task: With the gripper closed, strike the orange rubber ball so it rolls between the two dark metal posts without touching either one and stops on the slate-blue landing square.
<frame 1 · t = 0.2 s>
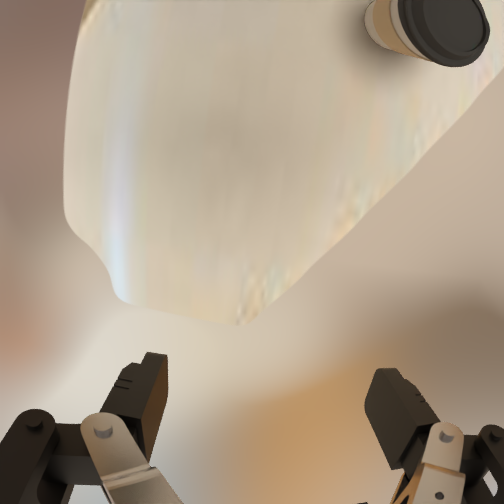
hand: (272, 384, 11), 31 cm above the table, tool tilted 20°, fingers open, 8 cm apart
coffee cup: (390, 23, 28), on the table
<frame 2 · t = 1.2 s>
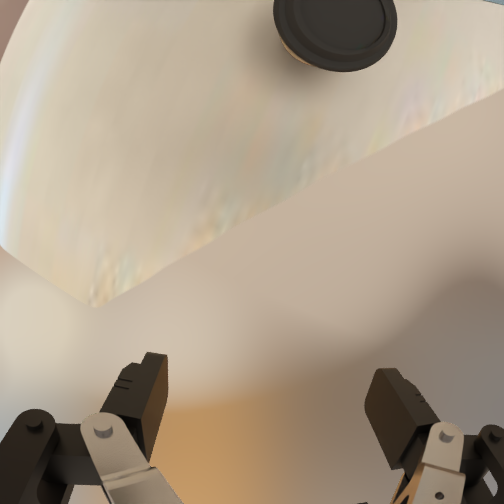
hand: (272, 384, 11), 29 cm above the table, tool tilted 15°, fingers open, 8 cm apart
coffee cup: (313, 35, 28), on the table
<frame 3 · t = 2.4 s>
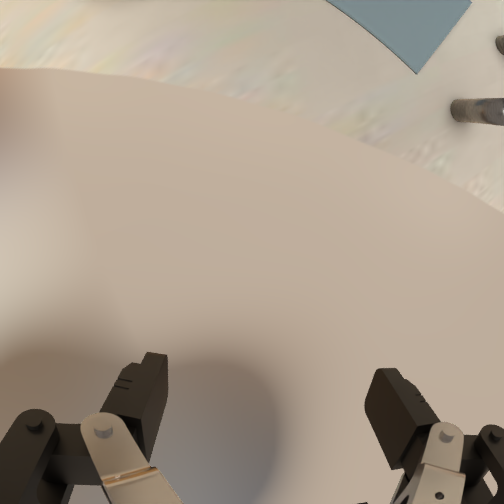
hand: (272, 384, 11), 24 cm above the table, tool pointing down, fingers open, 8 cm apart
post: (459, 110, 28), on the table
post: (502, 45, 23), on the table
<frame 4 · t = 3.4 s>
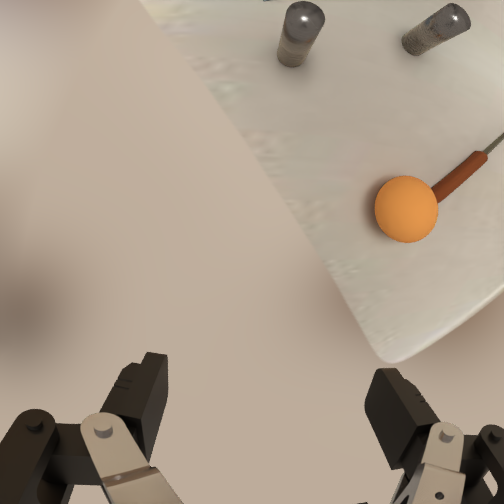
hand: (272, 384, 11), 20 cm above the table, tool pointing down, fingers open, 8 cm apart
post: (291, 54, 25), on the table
kitchen knife: (470, 159, 28), on the table
ball: (406, 209, 26), on the table
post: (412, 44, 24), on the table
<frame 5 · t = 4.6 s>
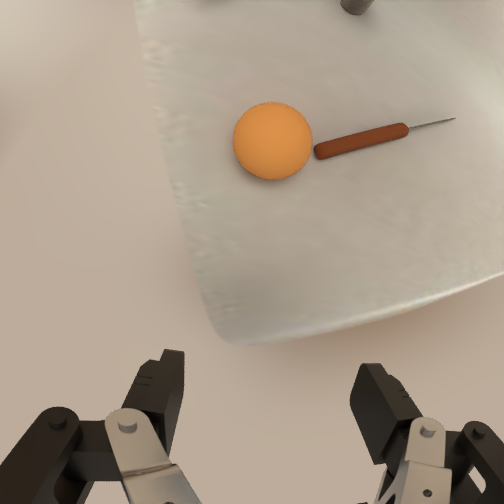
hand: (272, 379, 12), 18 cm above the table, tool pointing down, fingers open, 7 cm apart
kitchen knife: (389, 132, 27), on the table
ball: (272, 140, 24), on the table
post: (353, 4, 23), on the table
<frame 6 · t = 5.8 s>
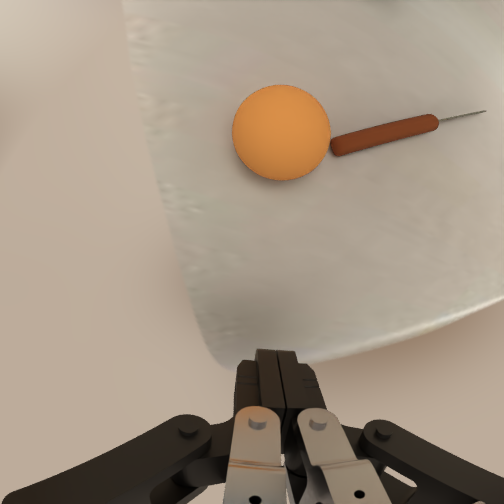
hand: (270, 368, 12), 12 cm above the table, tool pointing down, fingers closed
kitchen knife: (414, 125, 22), on the table
ball: (281, 132, 19), on the table
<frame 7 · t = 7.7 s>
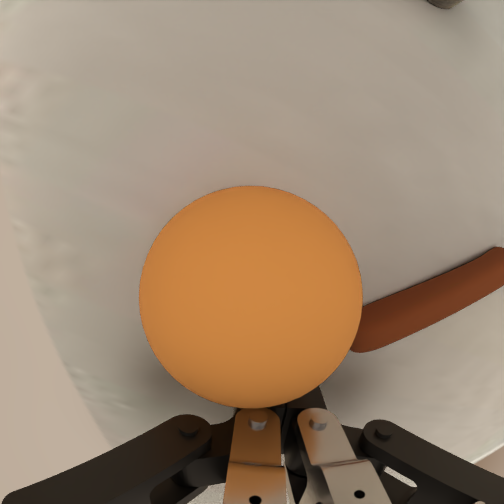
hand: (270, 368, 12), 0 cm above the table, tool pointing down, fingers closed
kitchen knife: (479, 260, 13), on the table
ball: (250, 297, 9), on the table, touching gripper
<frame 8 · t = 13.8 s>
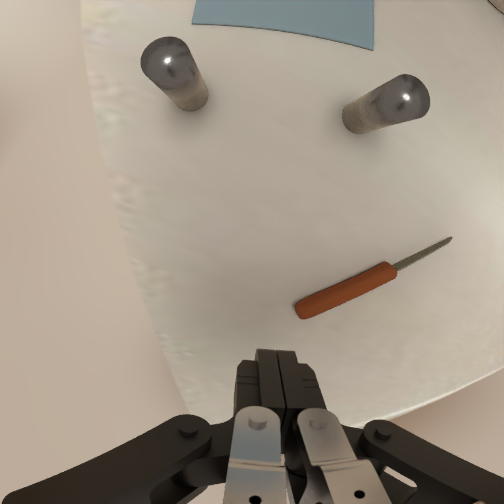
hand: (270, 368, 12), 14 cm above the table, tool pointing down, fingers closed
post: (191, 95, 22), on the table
kitchen knife: (376, 269, 27), on the table
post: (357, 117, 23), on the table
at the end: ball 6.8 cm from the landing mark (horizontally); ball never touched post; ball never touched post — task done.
